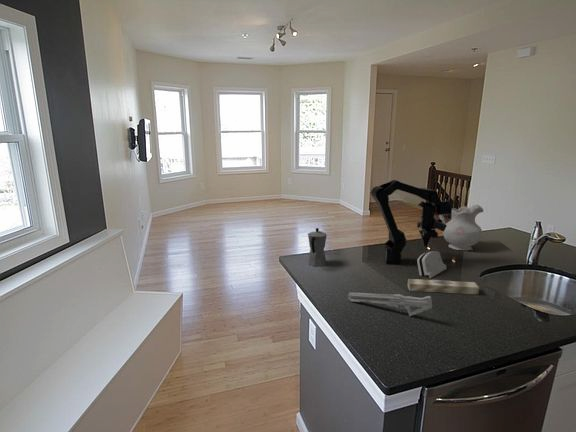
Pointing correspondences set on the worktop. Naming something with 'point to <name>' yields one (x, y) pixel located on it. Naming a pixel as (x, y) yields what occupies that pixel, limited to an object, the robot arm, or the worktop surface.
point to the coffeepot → (317, 248)
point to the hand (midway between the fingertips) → (425, 246)
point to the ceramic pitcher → (463, 228)
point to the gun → (395, 301)
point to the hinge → (430, 264)
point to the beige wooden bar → (443, 286)
